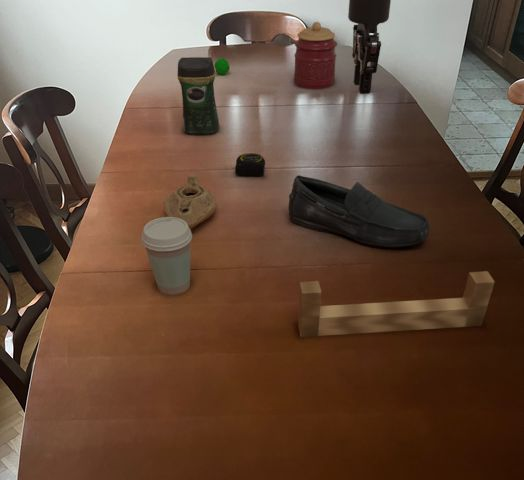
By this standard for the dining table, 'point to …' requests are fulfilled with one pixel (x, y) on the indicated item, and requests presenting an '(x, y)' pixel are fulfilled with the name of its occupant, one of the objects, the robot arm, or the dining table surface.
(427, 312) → the wooden u-shaped bracket
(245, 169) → the tape measure
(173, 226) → the coffee cup
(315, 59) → the kitchen canister
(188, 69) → the coffee jar
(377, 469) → the dining table surface
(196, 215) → the oil lamp
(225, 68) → the polyhedron
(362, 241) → the loafer
